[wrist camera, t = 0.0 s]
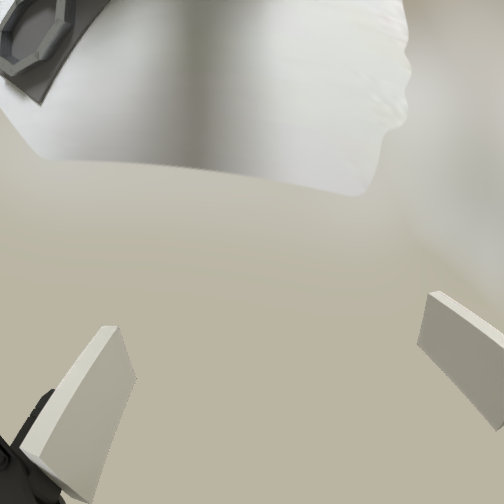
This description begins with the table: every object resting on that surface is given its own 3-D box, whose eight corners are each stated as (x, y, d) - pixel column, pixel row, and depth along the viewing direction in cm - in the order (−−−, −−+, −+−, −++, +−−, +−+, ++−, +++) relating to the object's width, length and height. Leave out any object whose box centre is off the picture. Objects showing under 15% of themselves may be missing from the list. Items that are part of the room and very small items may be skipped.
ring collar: (43, -21, 11) (33, -25, 8) (94, 0, 17) (84, -5, 14) (-5, 54, 16) (-17, 56, 13) (37, 85, 22) (24, 86, 19)
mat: (48, -32, 10) (46, -33, 9) (115, -6, 18) (113, -7, 17) (-12, 62, 16) (-15, 62, 16) (41, 102, 24) (38, 102, 23)
